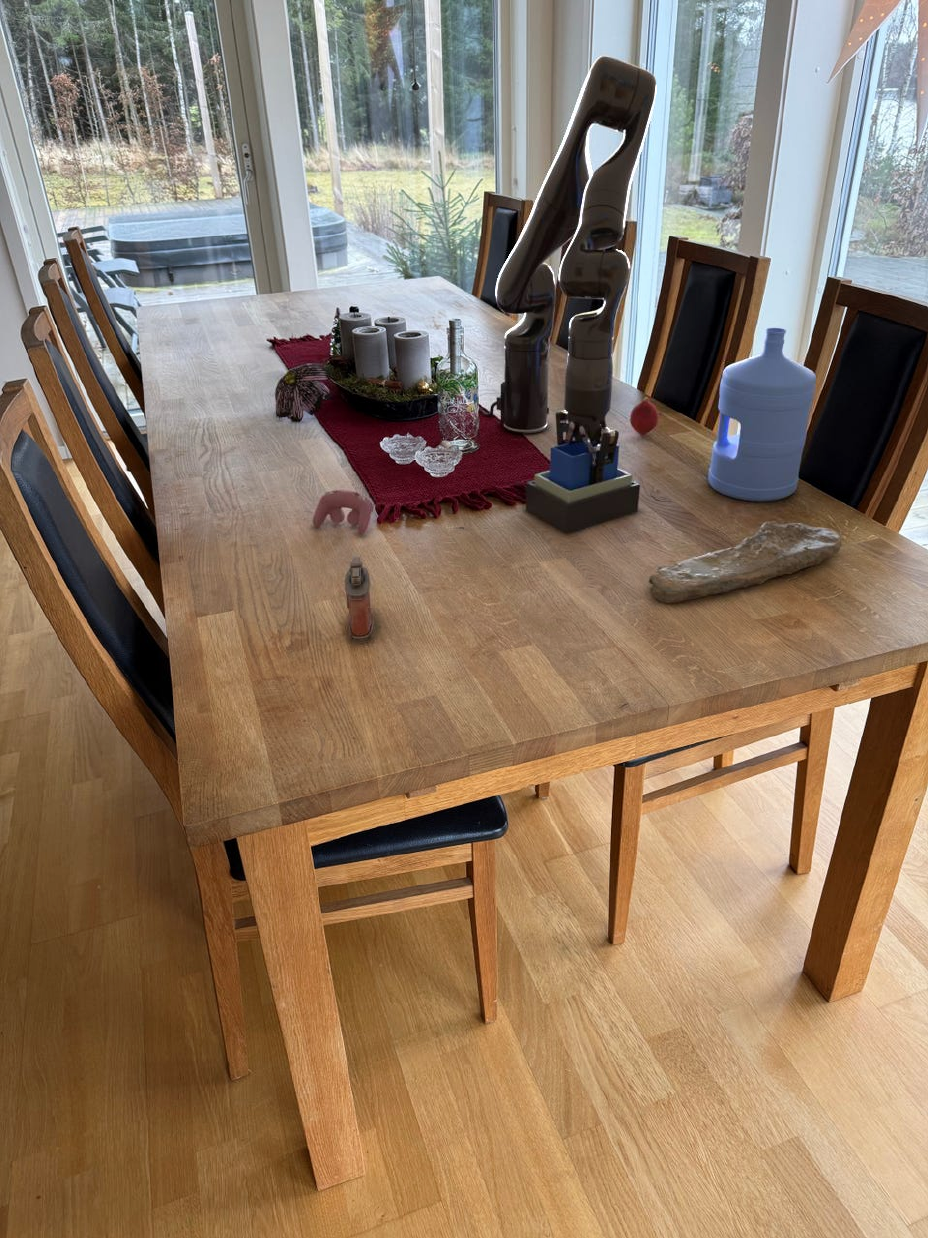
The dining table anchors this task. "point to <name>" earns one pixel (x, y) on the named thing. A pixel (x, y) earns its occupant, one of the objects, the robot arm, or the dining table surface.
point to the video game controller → (344, 499)
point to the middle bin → (585, 492)
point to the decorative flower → (301, 391)
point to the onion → (644, 417)
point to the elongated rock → (746, 562)
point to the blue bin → (576, 466)
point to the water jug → (762, 424)
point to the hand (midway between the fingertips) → (583, 479)
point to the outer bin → (581, 507)
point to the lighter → (359, 602)
